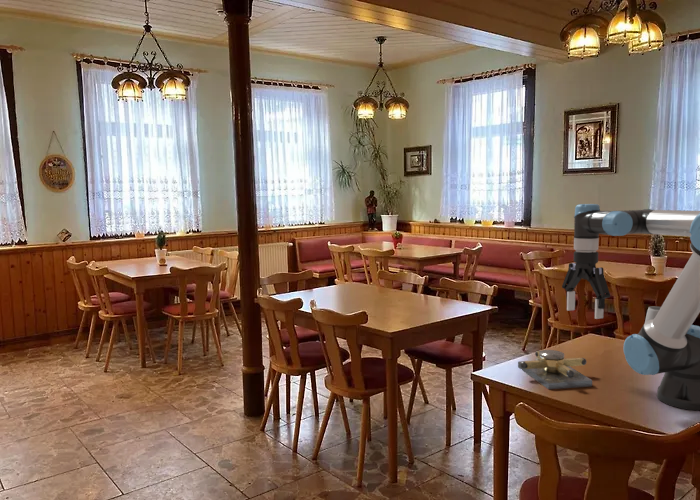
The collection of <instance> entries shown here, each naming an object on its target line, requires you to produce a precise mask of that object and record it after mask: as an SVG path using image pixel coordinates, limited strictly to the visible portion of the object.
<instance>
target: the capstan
mask: <svg viewBox="0 0 700 500" xmlns="http://www.w3.org/2000/svg"><path fill="white" fill-rule="evenodd" d="M534 355H535V356H536V358H539V359H540V360H524V362H521V364H520V366H521V368H523V369H535V368H543V369H544V370H545V371H548V372H552V373H562V374H563V375H565V376H567V377H569V378H572V377H573V376H574V372H573V371H572V370H571V369H570V368H568V367H566V366H570V367H578V366H579V367H580V366H581V367H582V366H585V365H587V359H586V358H584V357H571V358H568V357H567V358H565V353H564V352H562V351H558V350H555V349H543V350H536V351H535V352H534Z"/></svg>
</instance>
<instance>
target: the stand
mask: <svg viewBox="0 0 700 500" xmlns="http://www.w3.org/2000/svg"><path fill="white" fill-rule="evenodd" d="M535 360H540V359H539V358H537V357H535ZM535 360H534V361H535ZM524 361H525V360H524ZM524 361H517V367H518V368H519V369H520V370H521V369H522V370H521V371H522V372H524V373H525V372H526V374H527V375H528V376H529V377H531V378H532V379H534V380H535V382H537V383H539V384H541V385H542V386H543V387H545V388H546V389H547V390H556V389H557V390H558V389H560V390H561V389H570V388H571V389H572V388H587V387H593V379H591V378H589V377H588V376H586V375H584V374H582V372H580V371H578V370H576V369H575V368H573V367H572V366H566V367H568V368H570V369H571V370H572V371H573V372H574V376H573V377H572V378H569V377H567V376H565V375H563V374H562V373H552V372H548V371H545V370H544V369H543V368H535V369H523V368H521V366H520V364H521V362H524Z"/></svg>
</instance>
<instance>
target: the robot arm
mask: <svg viewBox="0 0 700 500" xmlns="http://www.w3.org/2000/svg"><path fill="white" fill-rule="evenodd" d="M573 218H574V226H573V227H574V228H573V230H574V232H573V233H574V234H573V235H574V236H573V250H575V251H574V252H573V262H570V263H569V264H568V269H567V272H566V274H565V277H564V280H563V282H562V284H561V288H562V289H565V290H564V291H566V294H565V295H566V297H565V299H566V311H575V310H576V291H575V288H576V287H577V286H578V284H579V283H580V282H581V280H586V281H587V282H588V283H589V284H590V286H591V288H592V290H593V293H594V294H595V296H596V297H595V298H594V301H595V302H594V320H595V319H596V320H598V319H604V309H605V306H606V305H605V304H606V303H605V302H606V299H608V298H610V297H611V293H610V291H609V288H608V283H607V281H606V278H605V277H606V276H605V273H604V272H605V271H604V267H597V264H598V262H599V252H598V250H599V244H600V243H599V242H600V241H599V240H600V235H604V236H605V235H606V236H607V235H608V236H612V237H613V236H614V237H617V236H618V237H621V236H622V237H623V236H625V235H633V234H635V235H636V234H637V235H638V234H645V235H662V236H663V235H664V236H675V237H676V236H679V237H689V239H690V242H691V243H689V244H690V245H689V248H690V250H691V252H692V254H691V255H690V257H689V259H688V261H687V262H686V264H685V266H684V267H683V269H682V271H681V273H680V274H679V276H678V277H677V278H676V281H675V283H674V284H673V286H672V288H671V290H669V293H668V294H667V296H666V298H665V300H664V301H663V303H662V304H661V306H660V307H661V308H660V310H659V312H658V313H657V315H656V317H655V318H654V319H653V320H648V321H646V322H645V321H644V324H643V325H642V327H641V329H640V330H639V332H638V333H633V334H631V335H628V336H627V337H626V338H625V340H624V342H623V348H622V349H623V350H622V351H623V354H624V358H625V360H626V363H627V364H628V365H629V367H630V368H631V369H632V370H633V371H634V372H636V373H637V374H640V375H644V376H646V375H647V376H649V375H651V376H654V375H658V374H663V377H662V379H661V381H660V384H659V386H658V387H657V392H656V397H657V399H658V400H659V401H661V403H664V404H666V405H669V406H672V407H675V408H679V409H682V410H683V409H684V410H688V411H700V326H699V325H696V324H695V325H694V324H693V323H694V322H695V321H696V319H697V318H698V316H699V314H700V210H677V209H676V210H674V209H672V210H671V209H651V208H650V209H649V208H644V209H634V210H633V209H629V210H601V209H600V204H598V203H597V204H596V203H579V204H577V205H576V206H575V207H574V216H573Z"/></svg>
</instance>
